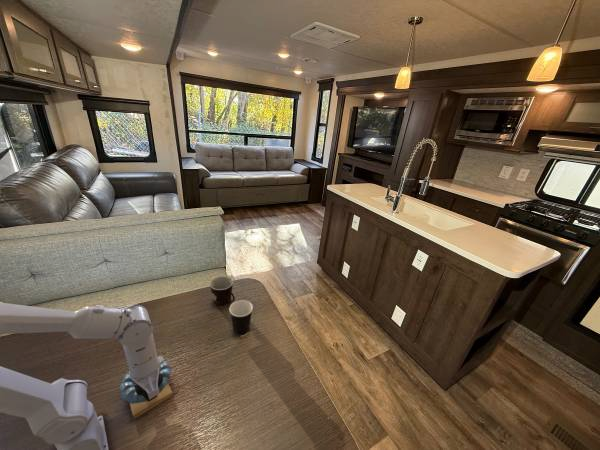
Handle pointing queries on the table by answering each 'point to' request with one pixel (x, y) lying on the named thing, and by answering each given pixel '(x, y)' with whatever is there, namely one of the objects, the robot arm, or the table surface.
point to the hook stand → (150, 402)
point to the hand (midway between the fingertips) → (150, 392)
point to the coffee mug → (222, 290)
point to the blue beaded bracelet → (128, 385)
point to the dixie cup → (241, 316)
